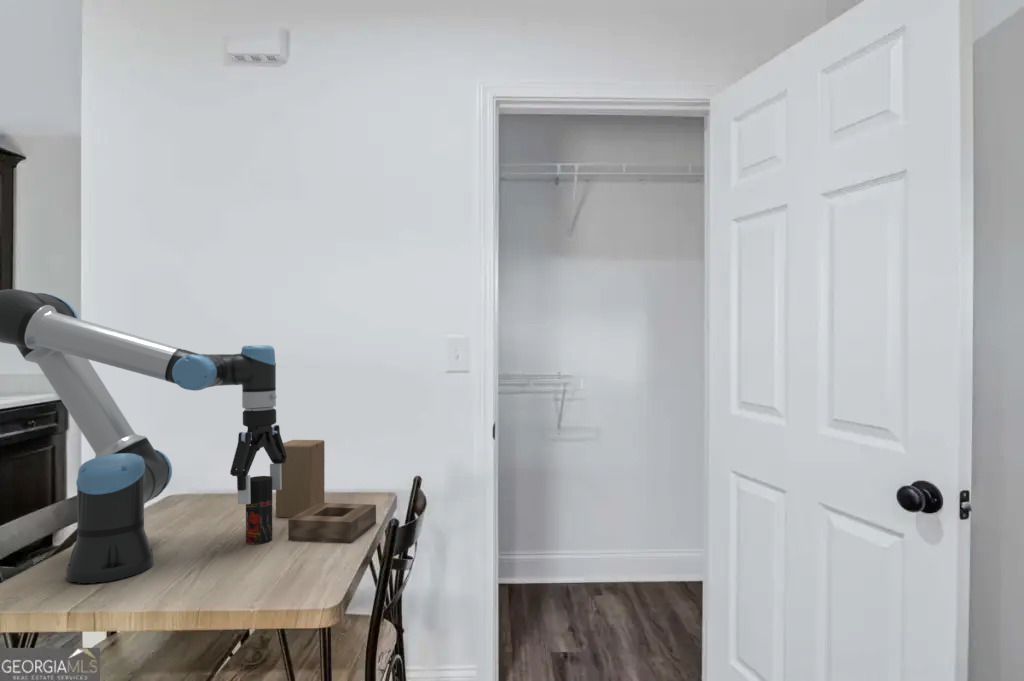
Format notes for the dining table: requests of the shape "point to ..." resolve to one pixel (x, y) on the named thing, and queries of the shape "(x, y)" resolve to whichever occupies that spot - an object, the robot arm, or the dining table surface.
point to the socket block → (332, 522)
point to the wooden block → (301, 477)
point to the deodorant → (259, 511)
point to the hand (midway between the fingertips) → (260, 496)
